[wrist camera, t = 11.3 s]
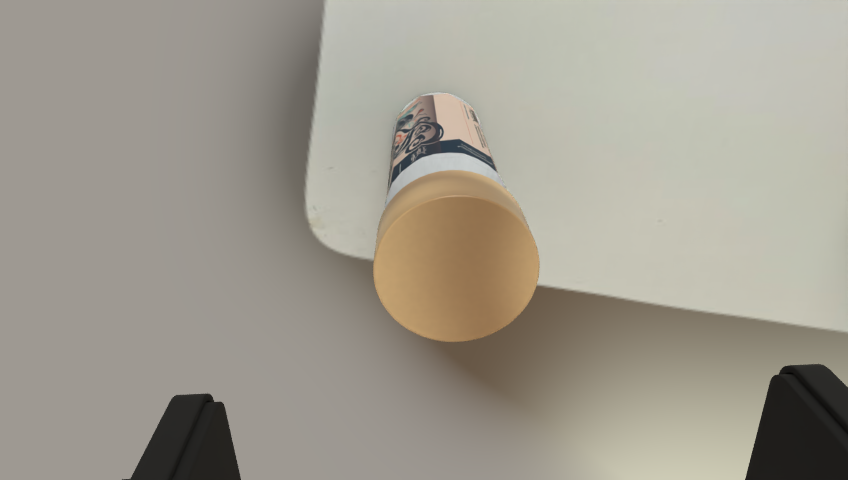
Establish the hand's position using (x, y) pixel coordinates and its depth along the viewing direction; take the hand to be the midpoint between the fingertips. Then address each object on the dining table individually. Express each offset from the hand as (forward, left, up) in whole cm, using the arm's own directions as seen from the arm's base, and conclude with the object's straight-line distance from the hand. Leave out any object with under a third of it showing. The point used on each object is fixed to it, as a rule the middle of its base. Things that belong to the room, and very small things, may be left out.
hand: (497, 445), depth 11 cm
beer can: (0, -1, -25) cm, 25 cm away
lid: (0, -2, -12) cm, 12 cm away
